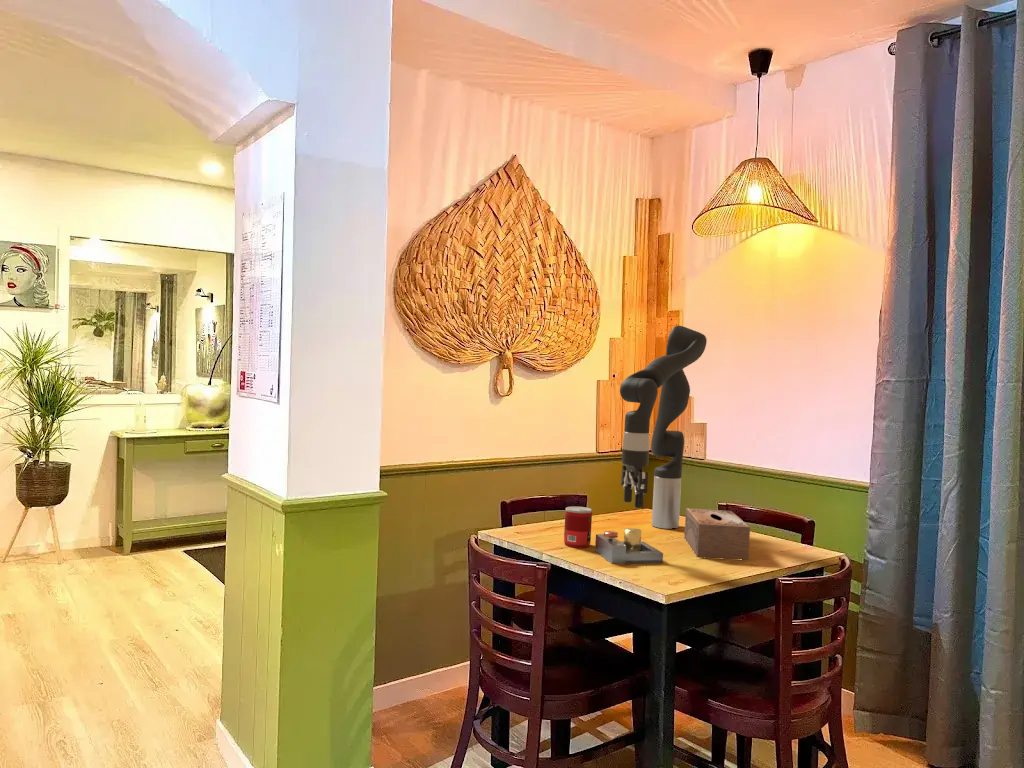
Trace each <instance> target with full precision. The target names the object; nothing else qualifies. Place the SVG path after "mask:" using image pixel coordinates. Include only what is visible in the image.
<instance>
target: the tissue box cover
mask: <svg viewBox="0 0 1024 768" xmlns="http://www.w3.org/2000/svg"><path fill="white" fill-rule="evenodd" d="M684 521H685V522H684V540H685V539H686V540H685V541H686V543H687V542H688V543H687V545H688V546H689V545H690V546H689V547H690V549H691V548H692V549H691V551H692V552H693V551H694V552H693V553H694V554H696V555H695V556H696V558H697V557H703V558H702V559H712V558H723V559H722V560H727V559H742V560H741V561H743V560H748V561H749V555H750V554H749V552H750V535H751V526H749V525H748V524H747V523H746V522H745V521H743V519H742V518H741V517H739V516H738V515H737V514H736V513H735V512H733V511H732V510H725V509H724V510H723V509H721V510H720V509H709V508H708V509H706V508H705V509H704V508H688V507H686V508H685V517H684ZM704 557H705V558H704Z"/></svg>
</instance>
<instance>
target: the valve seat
mask: <svg viewBox="0 0 1024 768" xmlns="http://www.w3.org/2000/svg"><path fill="white" fill-rule="evenodd" d="M618 537H619V532H617V531H613V530H612V531H611V530H606V531H605V530H604V532H603V534H601V533H600V534H599V533H595V545H594V551H595V552H596V553H597V554H598V555H599V556H600V557H602V558H603V559H605V560H606V561H607V562H608V563H610V564H612V565H614V564H615V565H616V564H617V565H620V564H622V565H623V564H629V565H631V564H663V562H664V561H663V560H664V552H662V551H660V549H659V550H658V549H657V548H655V547H654V546H652V545H650V544H649V543H648V542H645V541H641V548H640V552H626V545H625V544H624V541H620V540H619V539H617V538H618Z"/></svg>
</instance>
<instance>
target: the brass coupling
mask: <svg viewBox="0 0 1024 768" xmlns="http://www.w3.org/2000/svg"><path fill="white" fill-rule="evenodd" d="M623 530H624V531H623V542H624V544H625V545H626V552H640V548H641V542H642V529H640V528H634V527H626V528H624V529H623Z"/></svg>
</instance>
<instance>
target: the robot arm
mask: <svg viewBox="0 0 1024 768" xmlns="http://www.w3.org/2000/svg"><path fill="white" fill-rule="evenodd" d="M707 342H708V341H707V337H706V335H705V334H704V333H701V332H700V331H696V330H693V329H691V328H689V327H686V326H683V325H675V326H674V327H673V328H672V329H671V330H670V332H669V334H668V339H667V343H666V349H665V350H666V351H665V353H666V354H665V355H662V356H659V357H657V358H655V359H654V360H652V361H651V362H650V363H649V364H648V365H647V366H646V367H644V368H643V369H641V370H638V371H636V372H634V373H632V374H630V375H628V376H626V378H624V379H623V381H621V382H622V383H621V384H620V387H619V394H620V397H621V399H622V400H623V401H625V402H627V403H637V404H639V406H638V408H637V409H636V410H630V411H627V412H626V413H625V415H624V430H623V431H624V432H623V437H622V438H623V439H622V450H621V451H622V452H621V453H622V454H621V464H623V465H621V468H622V469H621V479H620V484H621V485H620V486H622V488H623V489H624V490H623V502H624V503H632V499H633V489H634V503H633V504H634V508H635V509H642V508H643V507H644V505H643V504H644V495H645V494H647V493H648V484H649V482H648V481H649V480H648V479H649V474H648V471H644V470H643V468H644V467H647V466H648V465H649V461H650V459H649V457H650V449H651V453H652V454H653V456H654V457H661V458H671V460H670V461H669V462H667V463H665V464H663V465H660V466H657V467H655V468H654V471H653V473H654V474H653V493H652V512H651V513H652V514H651V515H652V516H651V526H652V527H655V528H659V529H667V530H673V529H672V528H676V529H678V527H679V528H680V513H681V510H680V509H681V491H682V474H683V473H682V471H683V460H684V459H683V458H684V450H685V449H684V448H685V436H684V434H683V432H682V431H681V430H668V427H669V426H670V425H671V424H672V423H673V422H674V421H675V420H676V419H677V418H679V417H680V416H681V415H682V414H683V413H684V411H685V410H686V409H687V408H688V404H689V399H690V395H691V386H690V383H689V379H688V377H687V375H686V374H685V371H684V369H685V368H687V367H689V366H690V365H692V364H693V363H696V362H697V361H698V360H699V359H700V358H701V357H702V355H703V353H705V350H706V347H707ZM660 388H661V389H660ZM658 389H660V394H659V402H658V410H657V415H656V416H657V417H656V419H655V420H656V421H655V424H654V427H653V433H652V435H651V440H650V425H651V424H650V421H651V416H652V414H653V410H654V407H655V403H656V401H657V398H658V393H659V391H658ZM650 441H651V442H650Z"/></svg>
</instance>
